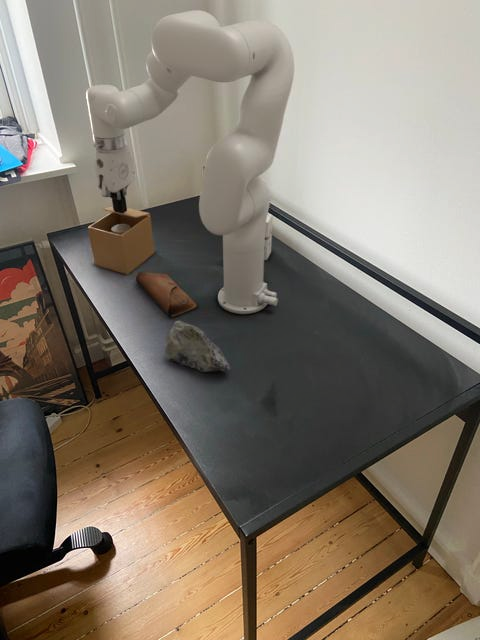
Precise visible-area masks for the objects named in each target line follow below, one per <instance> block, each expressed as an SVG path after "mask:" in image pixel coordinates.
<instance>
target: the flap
mask: <svg viewBox="0 0 480 640" xmlns="http://www.w3.org/2000/svg"><path fill="white" fill-rule="evenodd" d="M102 210H103V211H105V212H109V213H111V212H114V213H118V212H115V211H114V210H113V206H110V207H104V208H102ZM118 214H122V213H118ZM122 215H126V216H130V217H134V218H137V217H141V216H145V215H151V213H150V212H146V211H142V210H139V209H133V208H130V207H127V211H126V212H124V213H123V214H122Z"/></svg>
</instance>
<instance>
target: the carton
mask: <svg viewBox="0 0 480 640" xmlns="http://www.w3.org/2000/svg"><path fill="white" fill-rule="evenodd" d="M118 224H127V225H129V226H130V227H131V229H129V230H128V231H126V232H125V233H123V234H122V235H119V234H115V233H112V230H111V229H112V227H113V226H115V225H118ZM87 232H88V236H89V241H90V246H91V251H92V256H93V261H94V265H95V266H97V267H100V268H104V269H108V270H110V271H114V272H117V273H120V274H121V273H122V274H124V275H129V274H130V273H131V272H133V271H134V270H135V269H136V268H138V267H139V266H141V264H143V263H144V262H145V261H146V260H148V259H149V258H150V257H152V256H153V255H155V252H156V251H155V245H154V244H155V243H154V235H153V226H152V218H151V214H149V215H145V216H141V217H137V218H134V217H130V216H126V215H122V214H118V213H114V212H109V213H107V214H106V215H104V216H103V217H101V218H100V219H98V220H97V221H94V223H92V224H90V225H89V226H87Z"/></svg>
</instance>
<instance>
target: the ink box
mask: <svg viewBox="0 0 480 640" xmlns="http://www.w3.org/2000/svg"><path fill="white" fill-rule="evenodd" d="M273 217H274V216H273V214H271V213H268V215H267V220H266V227H265V245H264V261H267V260H268V259H269V257H270V255H271V253H272V241H273Z"/></svg>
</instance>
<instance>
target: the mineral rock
mask: <svg viewBox="0 0 480 640" xmlns="http://www.w3.org/2000/svg"><path fill="white" fill-rule="evenodd" d="M165 357H166V360H167V361H168V362H177V363H178V364H180V365H181V366H188V367H190V368H192V369H196V370H198V371H199V372H201V373H207V372H229V371H230V370H231V369H232V368H231V366H230V364H229V362H228V360H227V358H225V355H224V353H223V351H221V349H220V348H219V346H218V345H216V344H215V343H214V342H213V341H211V340H210V339H209V338H208V337H207V335H206V334H205V332H204V331H203V330H202V329H200V328H199V327H198V326H195V325H194V324H190V323H187V322H184V321H182V320H176V321H174V323H173V325H172V327H171V329H170V331H169V333H168V336H167V340H166V346H165Z"/></svg>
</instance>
